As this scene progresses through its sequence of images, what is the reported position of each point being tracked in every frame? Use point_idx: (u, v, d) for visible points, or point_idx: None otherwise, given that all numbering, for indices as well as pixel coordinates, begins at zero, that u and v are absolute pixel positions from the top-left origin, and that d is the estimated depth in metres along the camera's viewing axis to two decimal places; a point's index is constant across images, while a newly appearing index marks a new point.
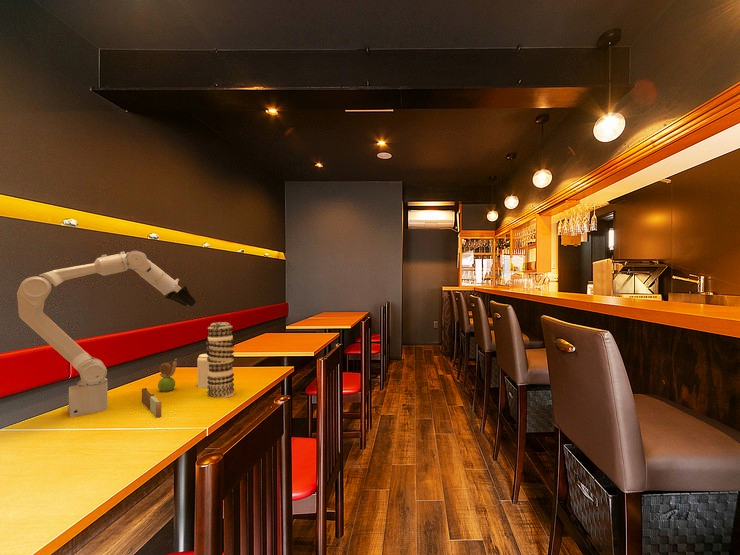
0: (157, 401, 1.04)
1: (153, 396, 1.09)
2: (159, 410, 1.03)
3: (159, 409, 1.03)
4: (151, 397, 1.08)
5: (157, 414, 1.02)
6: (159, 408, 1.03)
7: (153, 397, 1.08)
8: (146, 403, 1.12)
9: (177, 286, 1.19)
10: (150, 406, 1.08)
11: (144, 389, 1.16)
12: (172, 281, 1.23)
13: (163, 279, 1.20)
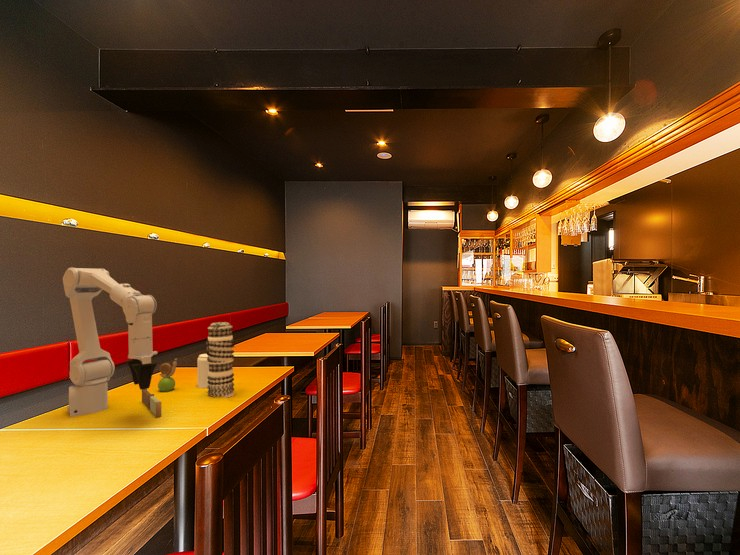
0: (157, 401, 1.04)
1: (153, 396, 1.09)
2: (159, 410, 1.03)
3: (159, 409, 1.03)
4: (151, 397, 1.08)
5: (157, 414, 1.02)
6: (159, 408, 1.03)
7: (153, 397, 1.08)
8: (146, 403, 1.12)
9: (149, 358, 0.97)
10: (150, 406, 1.08)
11: (144, 389, 1.16)
12: (149, 350, 1.02)
13: (144, 342, 1.00)
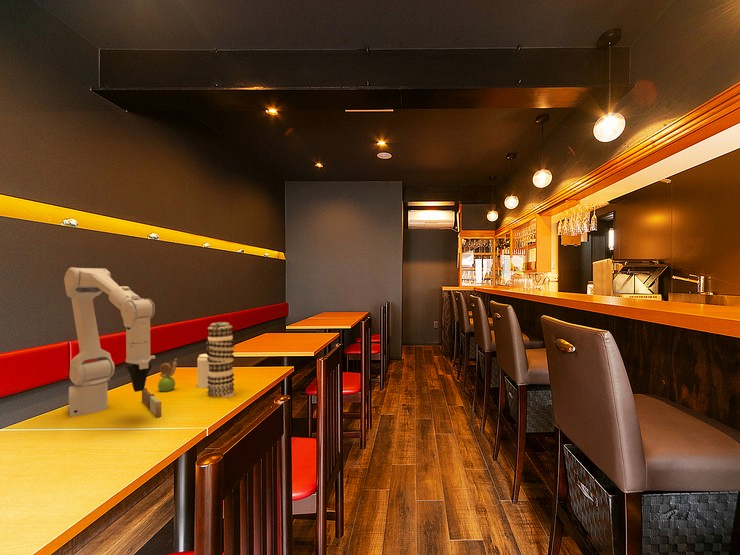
0: (157, 401, 1.04)
1: (153, 396, 1.09)
2: (159, 410, 1.03)
3: (159, 409, 1.03)
4: (151, 397, 1.08)
5: (157, 414, 1.02)
6: (159, 408, 1.03)
7: (153, 397, 1.08)
8: (146, 403, 1.12)
9: (146, 363, 0.96)
10: (150, 406, 1.08)
11: (144, 389, 1.16)
12: (147, 354, 1.01)
13: (141, 346, 1.00)
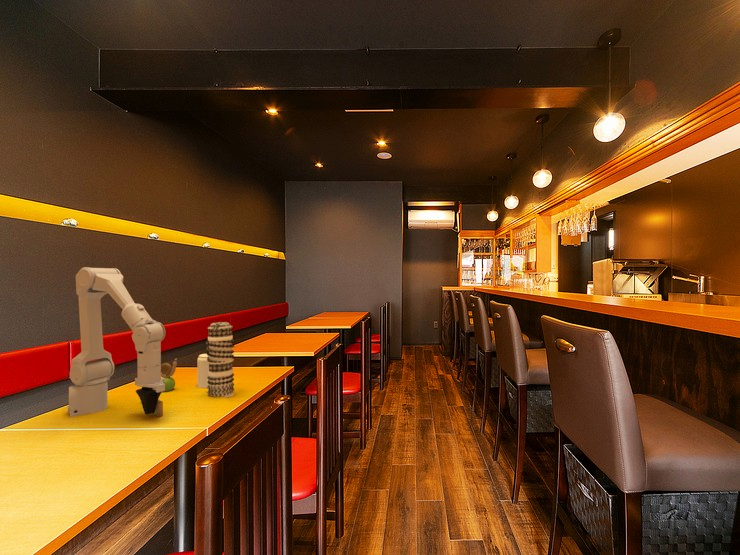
0: (158, 401, 1.04)
1: None
2: (161, 410, 1.03)
3: (161, 409, 1.03)
4: None
5: (159, 414, 1.03)
6: (161, 408, 1.03)
7: None
8: None
9: (163, 386, 0.99)
10: None
11: None
12: (159, 377, 1.03)
13: (154, 370, 1.02)
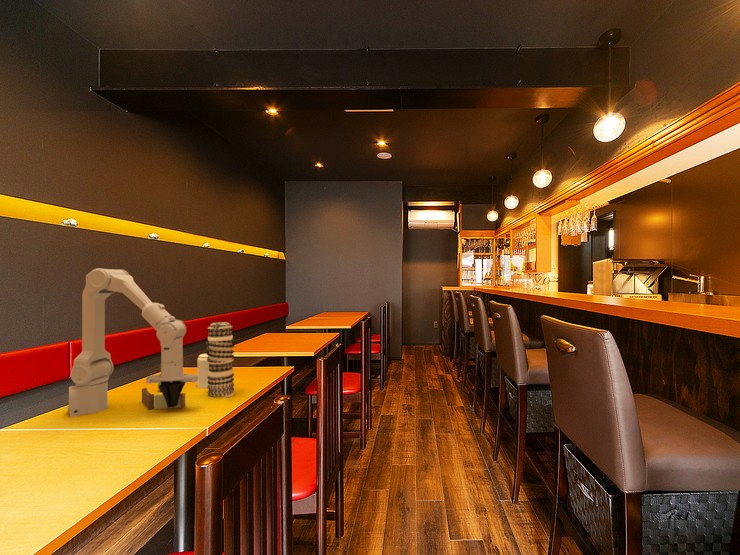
0: None
1: None
2: None
3: None
4: (158, 395, 1.10)
5: (184, 404, 1.11)
6: None
7: (161, 394, 1.10)
8: (146, 403, 1.12)
9: (197, 376, 1.09)
10: (156, 405, 1.09)
11: (144, 389, 1.16)
12: None
13: (181, 364, 1.09)
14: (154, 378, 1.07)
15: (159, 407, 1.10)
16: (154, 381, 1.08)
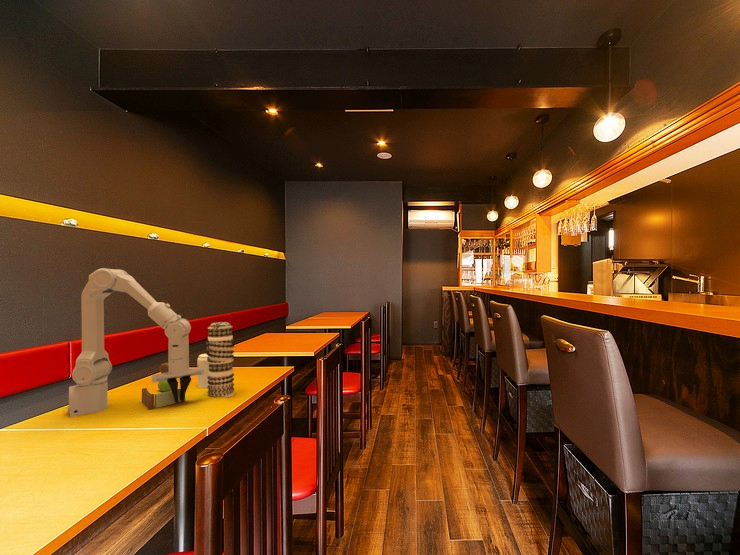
0: (178, 389, 1.16)
1: None
2: None
3: None
4: (160, 393, 1.11)
5: None
6: None
7: (161, 393, 1.12)
8: (146, 403, 1.12)
9: None
10: (157, 403, 1.11)
11: (144, 389, 1.16)
12: None
13: None
14: (163, 376, 1.10)
15: (161, 405, 1.11)
16: (160, 379, 1.10)
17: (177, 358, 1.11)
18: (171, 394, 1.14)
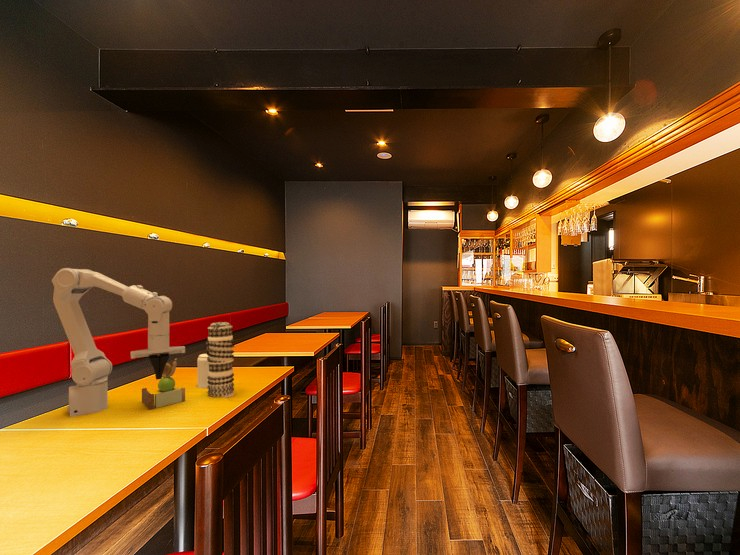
0: (178, 389, 1.16)
1: None
2: None
3: None
4: (160, 393, 1.11)
5: None
6: None
7: (161, 393, 1.12)
8: (146, 403, 1.12)
9: None
10: (157, 403, 1.11)
11: (144, 389, 1.16)
12: None
13: None
14: (142, 352, 1.08)
15: (161, 405, 1.11)
16: (139, 355, 1.09)
17: (156, 335, 1.10)
18: (171, 394, 1.14)
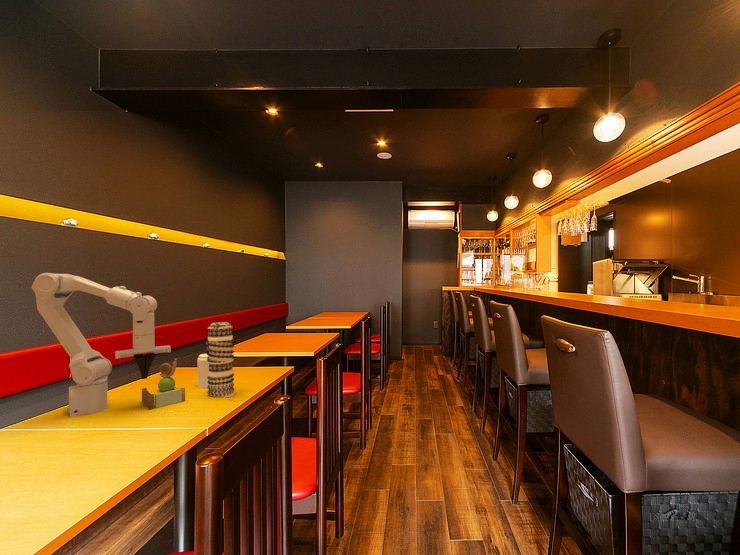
0: (178, 389, 1.16)
1: None
2: None
3: None
4: (160, 393, 1.11)
5: None
6: None
7: (161, 393, 1.12)
8: (146, 403, 1.12)
9: None
10: (157, 403, 1.11)
11: (144, 389, 1.16)
12: None
13: None
14: (127, 352, 1.08)
15: (161, 405, 1.11)
16: (124, 355, 1.09)
17: (141, 334, 1.10)
18: (171, 394, 1.14)
